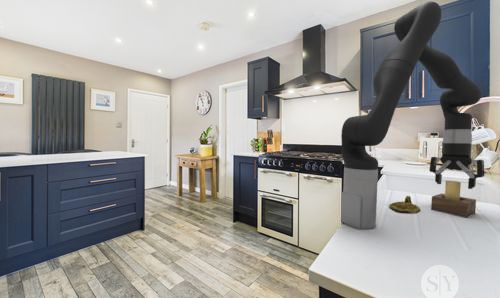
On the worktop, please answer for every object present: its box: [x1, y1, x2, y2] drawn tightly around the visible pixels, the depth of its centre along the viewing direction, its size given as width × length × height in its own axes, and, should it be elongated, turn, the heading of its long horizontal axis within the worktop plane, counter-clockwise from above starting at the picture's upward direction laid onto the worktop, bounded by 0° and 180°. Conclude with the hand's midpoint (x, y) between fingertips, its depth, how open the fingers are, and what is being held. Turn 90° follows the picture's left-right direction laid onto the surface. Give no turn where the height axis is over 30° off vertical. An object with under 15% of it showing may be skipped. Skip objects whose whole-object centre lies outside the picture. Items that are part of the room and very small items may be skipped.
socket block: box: [430, 193, 477, 219], centre depth 77 cm, size 10×10×5 cm
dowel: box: [444, 180, 462, 201], centre depth 78 cm, size 4×4×10 cm
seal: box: [388, 195, 421, 215], centre depth 80 cm, size 9×5×15 cm
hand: (454, 186), depth 77 cm, fingers open, 8 cm apart
